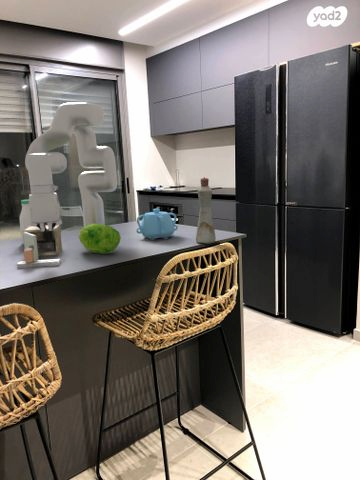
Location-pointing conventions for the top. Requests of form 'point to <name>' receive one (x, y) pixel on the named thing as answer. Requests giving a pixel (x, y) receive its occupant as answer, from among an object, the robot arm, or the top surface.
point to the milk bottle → (24, 217)
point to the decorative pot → (157, 224)
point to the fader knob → (29, 255)
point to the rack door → (30, 243)
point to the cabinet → (47, 247)
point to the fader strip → (39, 263)
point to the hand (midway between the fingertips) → (48, 241)
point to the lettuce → (99, 238)
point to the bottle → (205, 214)
